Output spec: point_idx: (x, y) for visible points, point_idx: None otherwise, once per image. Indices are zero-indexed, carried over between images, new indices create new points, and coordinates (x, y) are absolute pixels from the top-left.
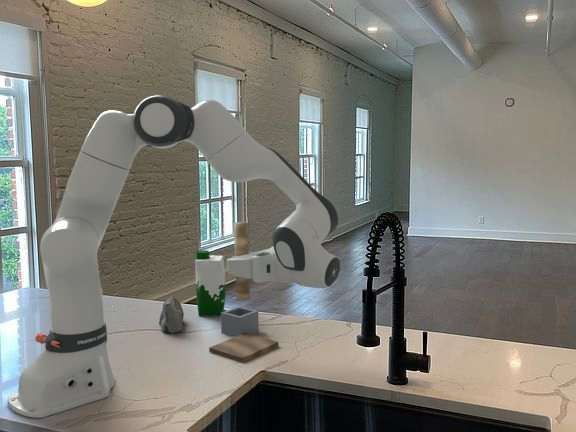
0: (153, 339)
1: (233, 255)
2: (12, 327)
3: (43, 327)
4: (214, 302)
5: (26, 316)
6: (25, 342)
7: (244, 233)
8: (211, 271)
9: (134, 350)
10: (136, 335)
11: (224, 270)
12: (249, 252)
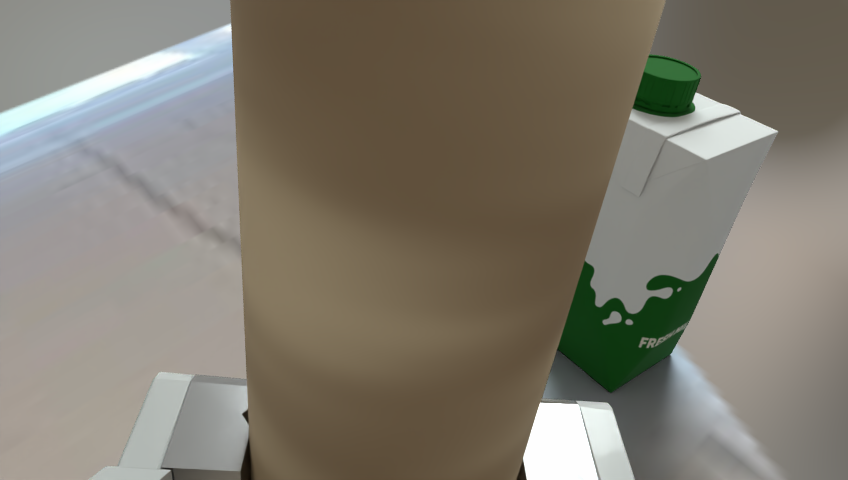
0: (210, 361)
1: (194, 383)
2: (130, 73)
3: (161, 107)
4: (600, 330)
5: (216, 58)
6: (30, 133)
7: (368, 56)
8: (637, 192)
9: (57, 383)
10: (220, 294)
11: (735, 211)
12: (579, 457)
